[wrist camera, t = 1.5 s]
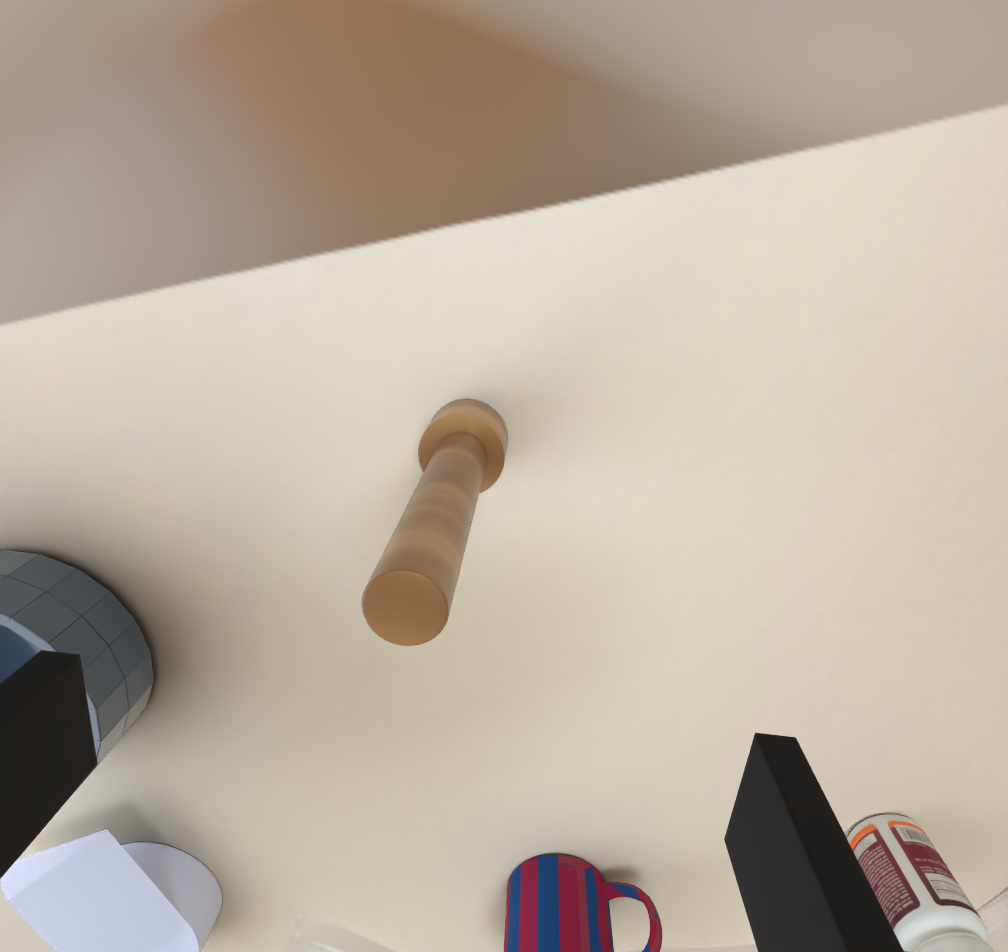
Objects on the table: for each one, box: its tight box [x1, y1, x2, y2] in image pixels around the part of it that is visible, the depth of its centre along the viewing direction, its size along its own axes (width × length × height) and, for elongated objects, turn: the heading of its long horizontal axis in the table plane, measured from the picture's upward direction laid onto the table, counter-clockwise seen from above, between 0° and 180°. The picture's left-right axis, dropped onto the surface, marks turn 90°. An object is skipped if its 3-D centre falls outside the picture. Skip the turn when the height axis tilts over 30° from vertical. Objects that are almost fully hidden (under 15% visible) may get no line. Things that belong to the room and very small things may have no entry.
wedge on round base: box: [0, 829, 222, 952], centre depth 42 cm, size 9×7×13 cm
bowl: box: [0, 550, 154, 790], centre depth 36 cm, size 13×13×6 cm
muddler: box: [362, 399, 508, 646], centre depth 25 cm, size 4×4×16 cm
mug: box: [504, 854, 662, 952], centre depth 40 cm, size 7×10×7 cm
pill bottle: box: [847, 814, 994, 952], centre depth 36 cm, size 5×5×8 cm
